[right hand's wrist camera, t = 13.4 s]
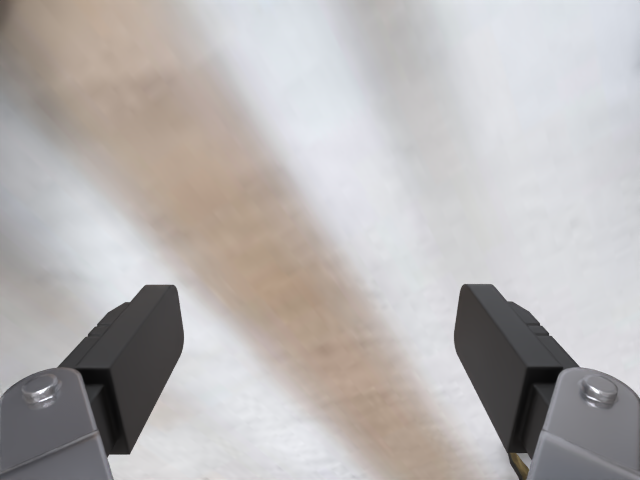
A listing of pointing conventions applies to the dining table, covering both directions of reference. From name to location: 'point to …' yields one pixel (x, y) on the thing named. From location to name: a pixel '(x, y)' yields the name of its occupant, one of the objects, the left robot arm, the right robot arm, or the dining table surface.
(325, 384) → the dining table surface
